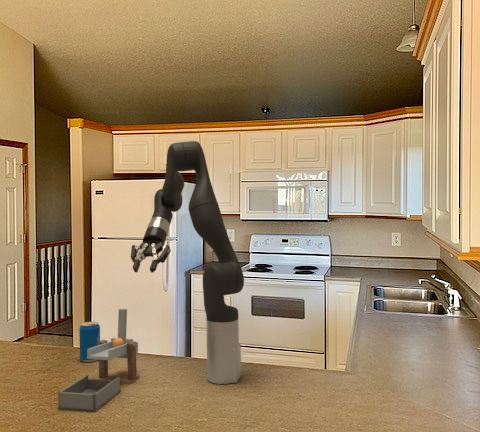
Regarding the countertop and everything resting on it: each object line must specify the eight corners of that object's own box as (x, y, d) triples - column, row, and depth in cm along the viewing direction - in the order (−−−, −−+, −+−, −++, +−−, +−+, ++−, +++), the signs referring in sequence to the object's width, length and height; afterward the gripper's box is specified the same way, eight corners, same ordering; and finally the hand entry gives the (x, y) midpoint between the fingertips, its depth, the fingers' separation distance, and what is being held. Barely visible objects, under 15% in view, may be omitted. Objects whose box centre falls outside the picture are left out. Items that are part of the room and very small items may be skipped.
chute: (139, 355, 144) (140, 308, 145) (110, 368, 126) (111, 314, 128) (118, 354, 146) (119, 307, 147) (86, 367, 128) (88, 313, 129)
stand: (140, 378, 139) (139, 340, 139) (132, 384, 134) (131, 345, 134) (103, 375, 142) (103, 338, 141) (95, 381, 137) (94, 343, 137)
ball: (125, 348, 140) (126, 337, 140) (120, 350, 136) (121, 338, 137) (115, 347, 140) (116, 336, 141) (110, 349, 137) (110, 338, 137)
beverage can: (94, 363, 154) (93, 326, 153) (76, 362, 155) (75, 325, 155) (104, 357, 160) (103, 321, 160) (86, 356, 161) (85, 321, 161)
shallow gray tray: (120, 391, 128) (119, 377, 128) (95, 411, 116) (94, 395, 116) (86, 389, 131) (86, 374, 130) (58, 408, 118) (58, 392, 118)
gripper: (134, 225, 167) (119, 263, 155) (173, 225, 164) (160, 264, 152) (141, 239, 172) (126, 277, 160) (178, 239, 169) (167, 278, 157)
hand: (143, 270), depth 156 cm, fingers open, 5 cm apart
